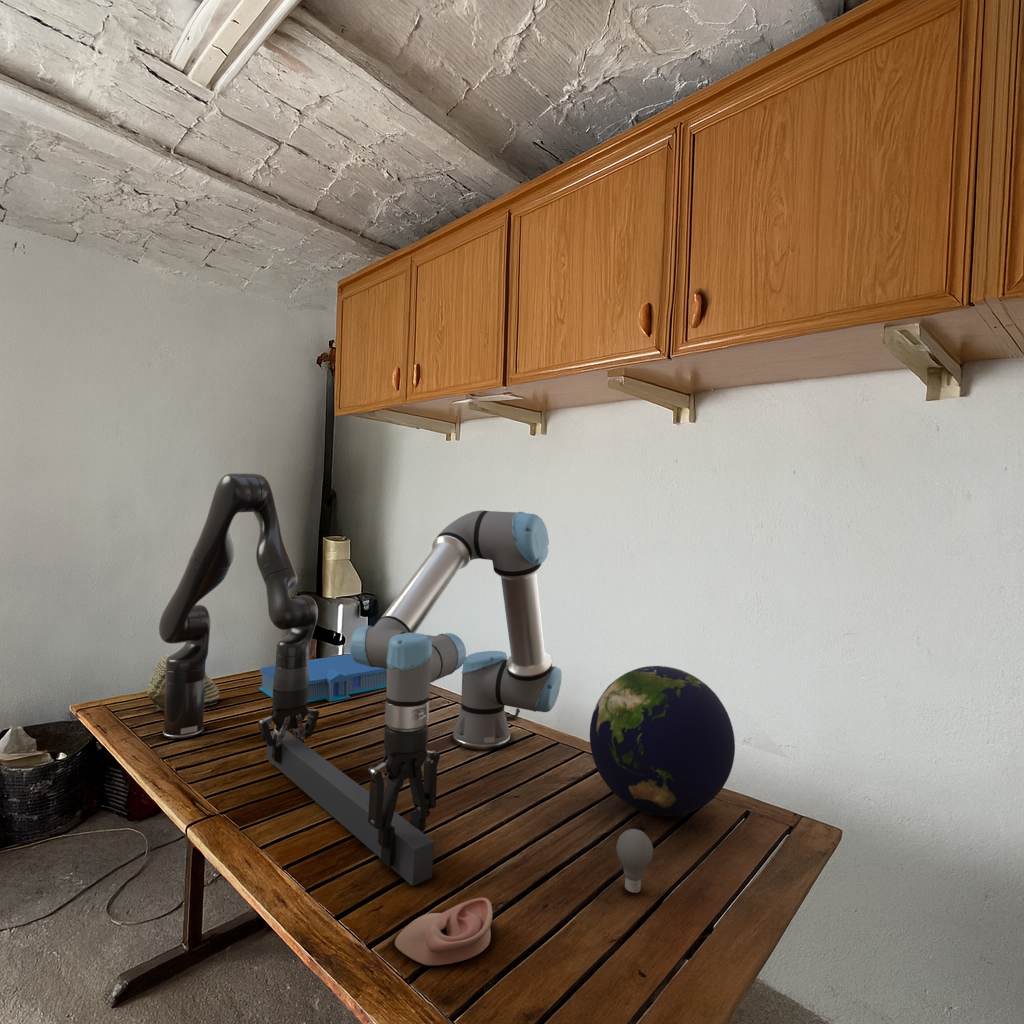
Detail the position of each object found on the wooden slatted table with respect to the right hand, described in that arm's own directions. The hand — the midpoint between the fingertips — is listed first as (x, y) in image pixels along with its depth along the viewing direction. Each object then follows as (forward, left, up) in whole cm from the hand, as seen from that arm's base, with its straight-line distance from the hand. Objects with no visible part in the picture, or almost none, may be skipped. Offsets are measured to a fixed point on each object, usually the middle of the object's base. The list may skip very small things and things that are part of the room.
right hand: (401, 856), depth 110 cm
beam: (-16, -17, -1) cm, 23 cm away
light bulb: (+2, +40, -1) cm, 40 cm away
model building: (-94, -47, -1) cm, 105 cm away
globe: (-28, +48, -1) cm, 56 cm away
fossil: (-68, -82, -1) cm, 107 cm away
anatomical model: (+18, +11, -1) cm, 21 cm away
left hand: (-31, -34, +2) cm, 46 cm away
